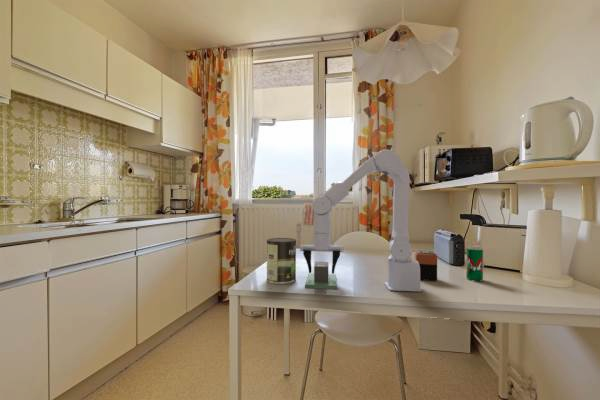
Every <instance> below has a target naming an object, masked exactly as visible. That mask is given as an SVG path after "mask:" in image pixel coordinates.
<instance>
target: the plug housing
mask: <svg viewBox="0 0 600 400" xmlns="http://www.w3.org/2000/svg"><path fill="white" fill-rule="evenodd" d="M313 267H314V269H313V270H314V271H313V274H314V282H328V274H329V261H315V262H314V266H313Z"/></svg>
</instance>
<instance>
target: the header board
mask: <svg viewBox="0 0 600 400" xmlns="http://www.w3.org/2000/svg"><path fill="white" fill-rule="evenodd" d="M337 283H338V281H337V274H335V273H334V274H332V273H331V274H330V273H328V282H314V273H307V277H306V280H305V282H304V288H305V289H326V290H328V289H329V290H337V289H338V284H337Z"/></svg>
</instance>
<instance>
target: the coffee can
mask: <svg viewBox="0 0 600 400" xmlns="http://www.w3.org/2000/svg"><path fill="white" fill-rule="evenodd" d="M296 258H297V239H295V238H290V237H274V238H267V239H266V282H268V283H270V284H274V285H287V284H291V283H294V282H296V281H297V280H296V279H297V278H296V277H297V275H296V273H297V272H296V271H297V265H296V264H297V259H296Z"/></svg>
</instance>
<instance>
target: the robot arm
mask: <svg viewBox="0 0 600 400" xmlns="http://www.w3.org/2000/svg"><path fill="white" fill-rule="evenodd" d="M377 171H378V172H380V173H382V174H385V175H387V177H388V178H390V180H392V181H393V193H392V194H393V195H392V196H393V198H392V229H391V239H390V240H389V242H388V246H387V247H388V251H389V252H390V255H389V256H388V257H387V281H384V285H385V286H386V287H387V289H388V290H389V291H396V292H398V291H399V292H401V291H402V292H422V290H421V280H420V265H419V262H418V261H416V260H415V259H412V255H413V248H412V246H411V244H410V235H409V234H410V233H409V207H410V205H409V203H410V172H409V171H408V169H407V168H406V166H405V164H404V163H403V162H402V161H401V158H400V156H399V155H398V154H397V153H396V152H395V151H393V150H392V149H389V148H387V149H386V148H385V149H381V150H380V151H378V152H377V153H376V155H373V156H371V157H369V158H368V159H367V160H365V161H364V162H363V163H362V164H361V165H360V166H358V167H357V169H356V170H354V171H353V172H352V173H351V174H350V175H349V176H347V178H345V180H343V181H336V182H332V183H331V184H330V187H329V188H328V189H327V190H326V191H324V192H321V193H320V196H318V197H316V198H315V199H314V200H313V202H312V205H311V206H312V210H313V224H312V225H313V228H312V229H313V230H312V232H313V233H312V234H313V235H312V236H313V239H312V240H313V243H312V244H300V246H299V248H300V249H299V252H302V254H303V257H304V259H305V261H306V264H307V269H308V274H312V252H328V253H329V252H330V253H331V252H332V262H331V263H332V265H331V274H335V269H336V266H337V263H338V260H339V258H340V256H341V253H344V245H339V244H337V245H336V244H331V216H330V215H331V214H330V213H331V210H332V207H336V206H337V205H338V204H339V203H341V202H342V200H344V199H345V198H347V197H348V195H350V194H349V193H350V192H349V191H350V188H352V187H353V186H355V185H356V184H357V183H358V182H359V181H361V180H362V179H363V178H364V177H366V176H368V175H369V174H375V173H377Z"/></svg>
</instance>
